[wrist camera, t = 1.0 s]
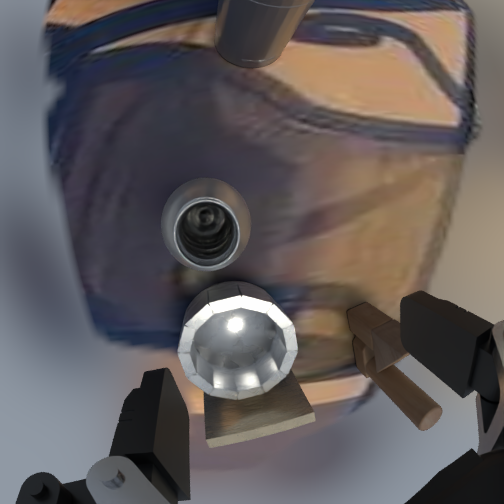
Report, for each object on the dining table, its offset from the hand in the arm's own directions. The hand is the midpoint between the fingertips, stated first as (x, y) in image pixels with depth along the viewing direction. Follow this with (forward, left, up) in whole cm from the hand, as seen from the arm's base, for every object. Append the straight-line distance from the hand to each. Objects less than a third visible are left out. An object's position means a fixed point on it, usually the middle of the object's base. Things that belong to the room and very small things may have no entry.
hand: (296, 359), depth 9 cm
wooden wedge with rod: (+18, +16, -28) cm, 37 cm away
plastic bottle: (-4, -2, -28) cm, 28 cm away
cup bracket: (+12, -2, -28) cm, 30 cm away
